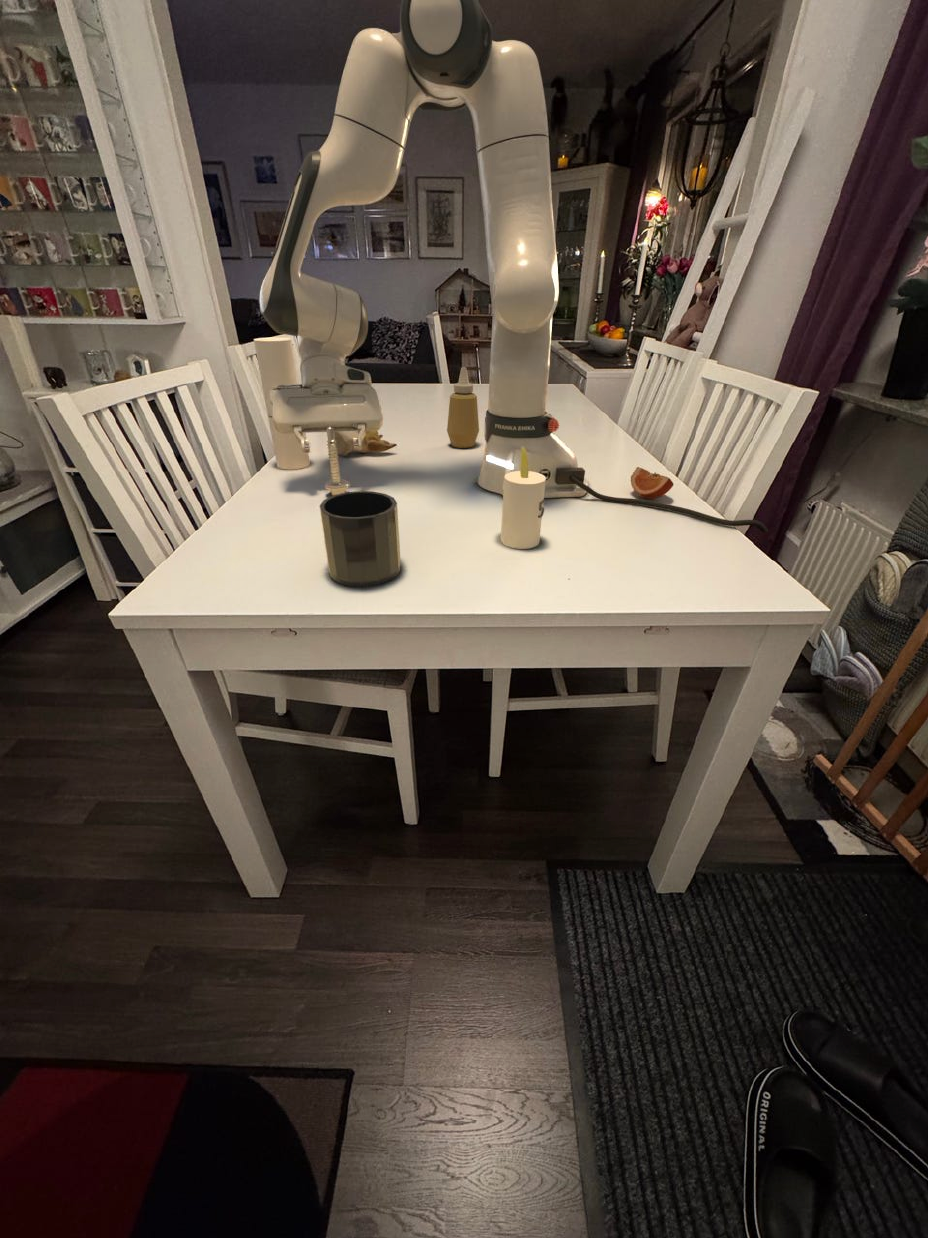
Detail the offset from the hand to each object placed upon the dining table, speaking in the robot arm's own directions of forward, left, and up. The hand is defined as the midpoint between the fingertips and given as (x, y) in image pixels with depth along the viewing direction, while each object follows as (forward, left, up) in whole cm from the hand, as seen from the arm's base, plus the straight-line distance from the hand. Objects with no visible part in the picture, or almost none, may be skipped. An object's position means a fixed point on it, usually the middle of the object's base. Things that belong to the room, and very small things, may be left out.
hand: (332, 449), depth 97 cm
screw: (0, +1, -9) cm, 9 cm away
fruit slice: (-61, -4, -9) cm, 62 cm away
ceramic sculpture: (+2, -28, -9) cm, 29 cm away
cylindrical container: (+15, -17, -9) cm, 24 cm away
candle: (-35, +19, -9) cm, 41 cm away
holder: (-12, +31, -8) cm, 34 cm away
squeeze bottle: (-22, -37, -9) cm, 44 cm away
